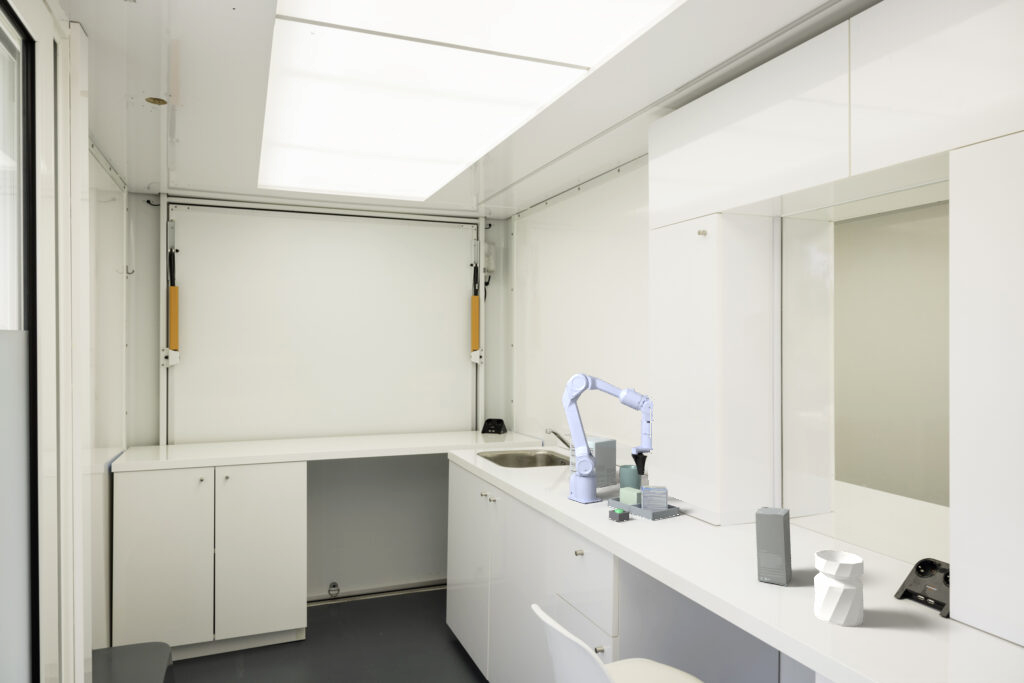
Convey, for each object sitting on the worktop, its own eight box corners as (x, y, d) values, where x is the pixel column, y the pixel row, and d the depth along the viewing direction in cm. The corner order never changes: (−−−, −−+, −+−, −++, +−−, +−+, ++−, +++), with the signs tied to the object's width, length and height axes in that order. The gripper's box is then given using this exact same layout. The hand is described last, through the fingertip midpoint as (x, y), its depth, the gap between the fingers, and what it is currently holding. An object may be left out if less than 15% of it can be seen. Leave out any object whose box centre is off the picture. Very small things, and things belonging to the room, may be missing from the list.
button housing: (608, 518, 198) (609, 510, 198) (619, 516, 200) (619, 508, 200) (618, 522, 194) (618, 513, 194) (629, 520, 196) (629, 512, 196)
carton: (619, 506, 214) (619, 488, 214) (628, 504, 216) (628, 486, 216) (636, 511, 208) (636, 492, 208) (645, 509, 210) (645, 491, 210)
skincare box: (787, 587, 142) (787, 516, 142) (753, 580, 146) (753, 511, 146) (793, 576, 149) (793, 508, 149) (760, 570, 153) (761, 504, 153)
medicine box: (665, 513, 205) (666, 486, 206) (667, 516, 201) (668, 489, 201) (641, 512, 206) (641, 485, 206) (642, 515, 202) (642, 488, 202)
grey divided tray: (607, 506, 213) (607, 498, 213) (633, 501, 220) (633, 494, 220) (652, 520, 196) (652, 512, 196) (679, 515, 203) (679, 507, 203)
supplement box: (590, 478, 258) (591, 435, 259) (616, 484, 249) (617, 439, 249) (568, 483, 249) (569, 438, 250) (594, 489, 240) (595, 442, 240)
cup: (644, 493, 233) (644, 466, 233) (636, 497, 226) (636, 469, 226) (624, 490, 237) (624, 464, 237) (616, 494, 230) (616, 467, 230)
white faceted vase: (827, 626, 122) (827, 563, 122) (806, 608, 131) (806, 549, 131) (872, 627, 122) (873, 564, 122) (848, 608, 131) (848, 549, 131)
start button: (613, 518, 197) (613, 509, 197) (619, 517, 199) (619, 508, 199) (618, 520, 195) (618, 511, 195) (625, 519, 197) (625, 510, 197)
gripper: (642, 436, 210) (642, 477, 209) (673, 433, 217) (673, 473, 217) (627, 434, 215) (627, 474, 215) (658, 431, 223) (657, 470, 223)
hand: (649, 473), depth 217 cm, fingers open, 7 cm apart
